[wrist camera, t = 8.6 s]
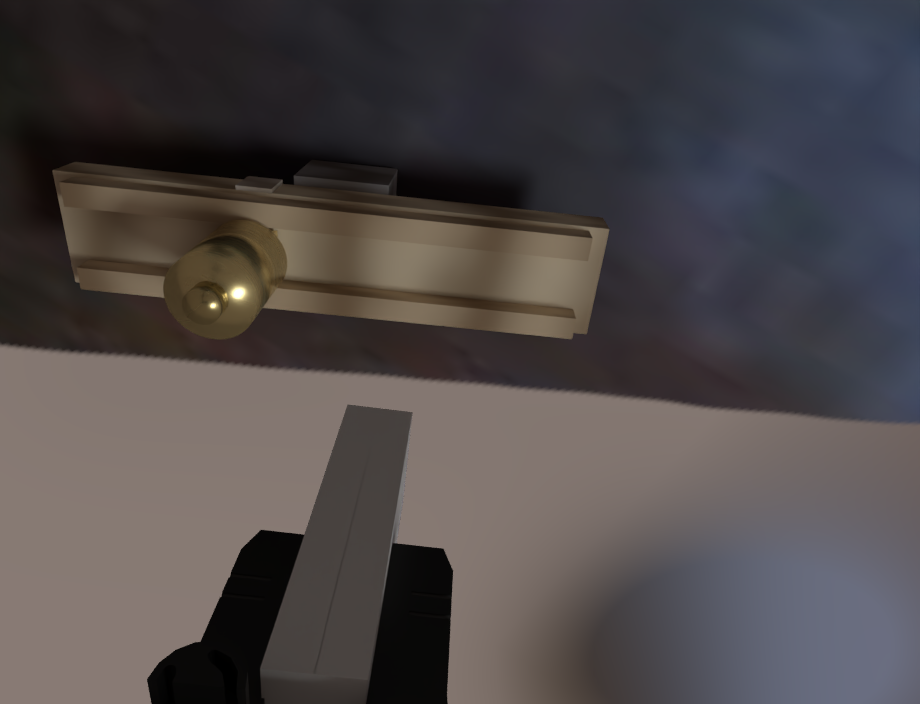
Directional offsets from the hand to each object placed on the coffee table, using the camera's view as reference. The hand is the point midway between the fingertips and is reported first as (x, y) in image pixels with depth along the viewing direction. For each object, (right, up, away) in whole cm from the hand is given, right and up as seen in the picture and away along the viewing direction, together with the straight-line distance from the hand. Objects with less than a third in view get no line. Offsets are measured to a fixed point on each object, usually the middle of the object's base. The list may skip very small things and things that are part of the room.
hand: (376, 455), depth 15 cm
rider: (-9, +8, +18) cm, 21 cm away
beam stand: (-4, +10, +23) cm, 26 cm away
